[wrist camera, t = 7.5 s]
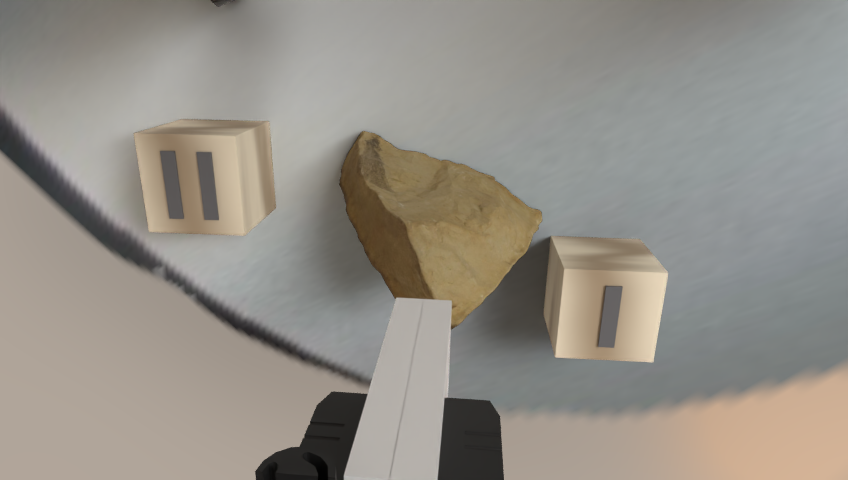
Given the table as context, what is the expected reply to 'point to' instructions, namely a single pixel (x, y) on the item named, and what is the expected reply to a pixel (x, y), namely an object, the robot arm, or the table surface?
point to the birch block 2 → (603, 298)
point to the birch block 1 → (206, 176)
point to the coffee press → (221, 2)
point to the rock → (433, 223)
